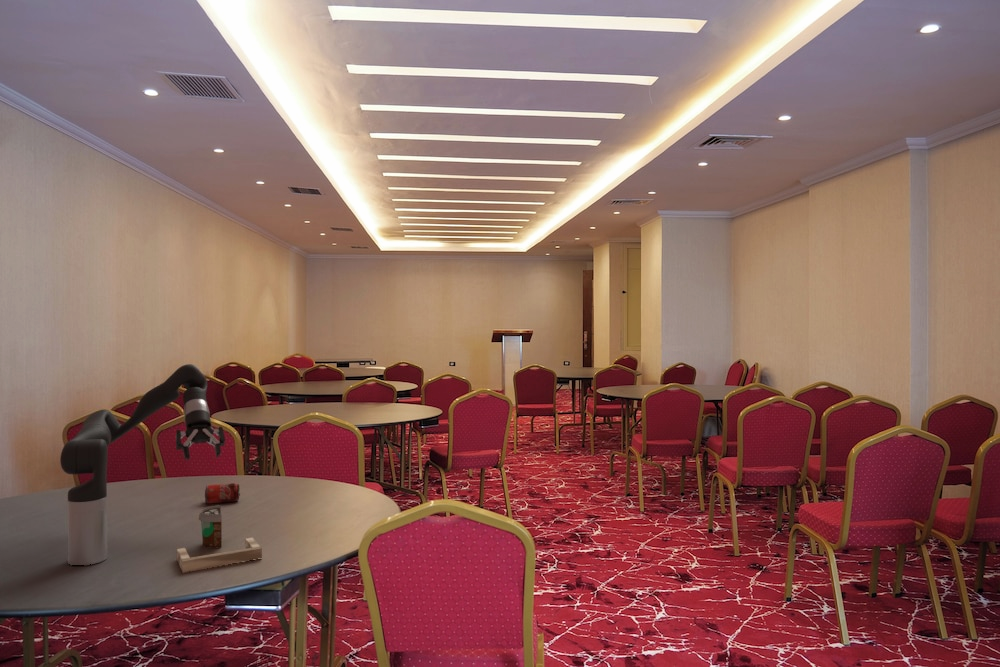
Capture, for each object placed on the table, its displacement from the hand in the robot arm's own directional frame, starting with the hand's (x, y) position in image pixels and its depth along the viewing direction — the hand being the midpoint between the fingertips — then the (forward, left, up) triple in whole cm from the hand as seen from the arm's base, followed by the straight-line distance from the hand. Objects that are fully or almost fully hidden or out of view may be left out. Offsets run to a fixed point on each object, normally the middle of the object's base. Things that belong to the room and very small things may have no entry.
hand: (202, 457), depth 215 cm
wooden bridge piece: (+28, 0, -24) cm, 37 cm away
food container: (+13, 0, -24) cm, 27 cm away
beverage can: (-39, +12, -24) cm, 48 cm away
